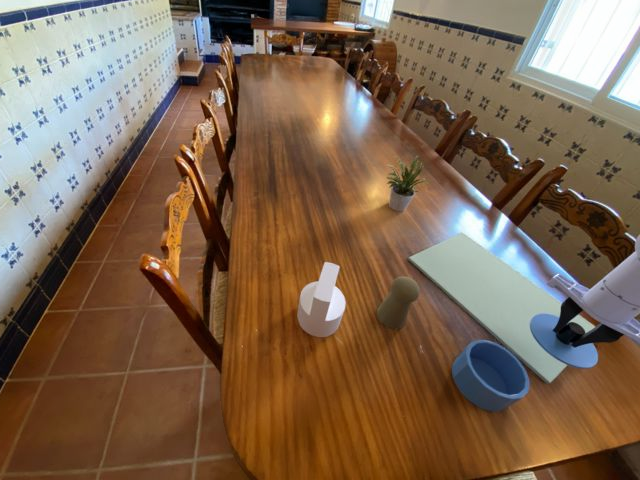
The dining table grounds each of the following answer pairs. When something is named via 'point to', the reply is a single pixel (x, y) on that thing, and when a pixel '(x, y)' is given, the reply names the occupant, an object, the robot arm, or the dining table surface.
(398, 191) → the house plant
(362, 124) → the dining table surface
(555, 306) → the mat
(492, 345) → the pot
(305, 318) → the base with upright slab
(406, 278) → the olive pawn figure
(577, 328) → the pot lid
